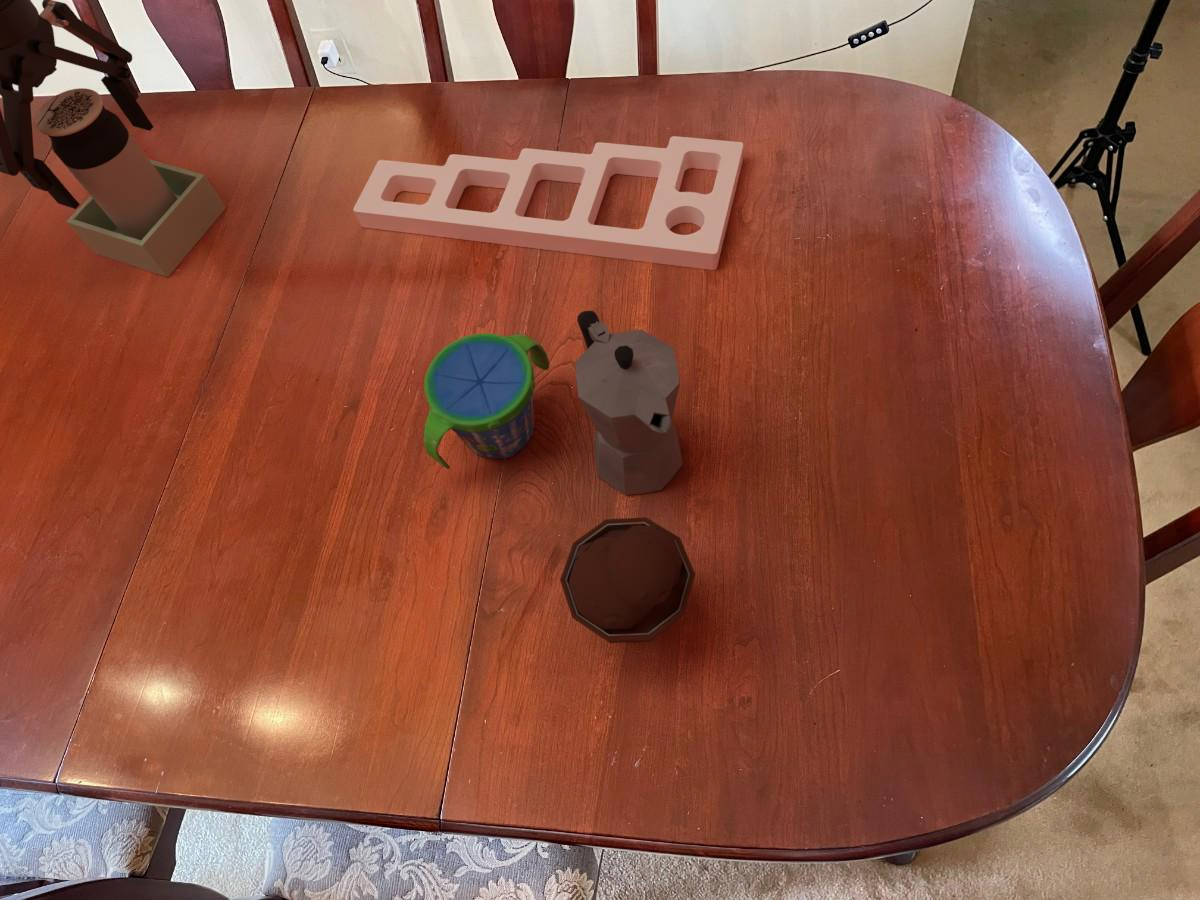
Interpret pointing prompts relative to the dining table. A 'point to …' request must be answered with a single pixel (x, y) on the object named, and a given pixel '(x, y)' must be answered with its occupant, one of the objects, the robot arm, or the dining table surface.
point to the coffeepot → (629, 405)
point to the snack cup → (483, 394)
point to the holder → (579, 228)
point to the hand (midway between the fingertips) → (107, 164)
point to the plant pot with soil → (627, 580)
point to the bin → (168, 234)
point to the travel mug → (105, 160)
